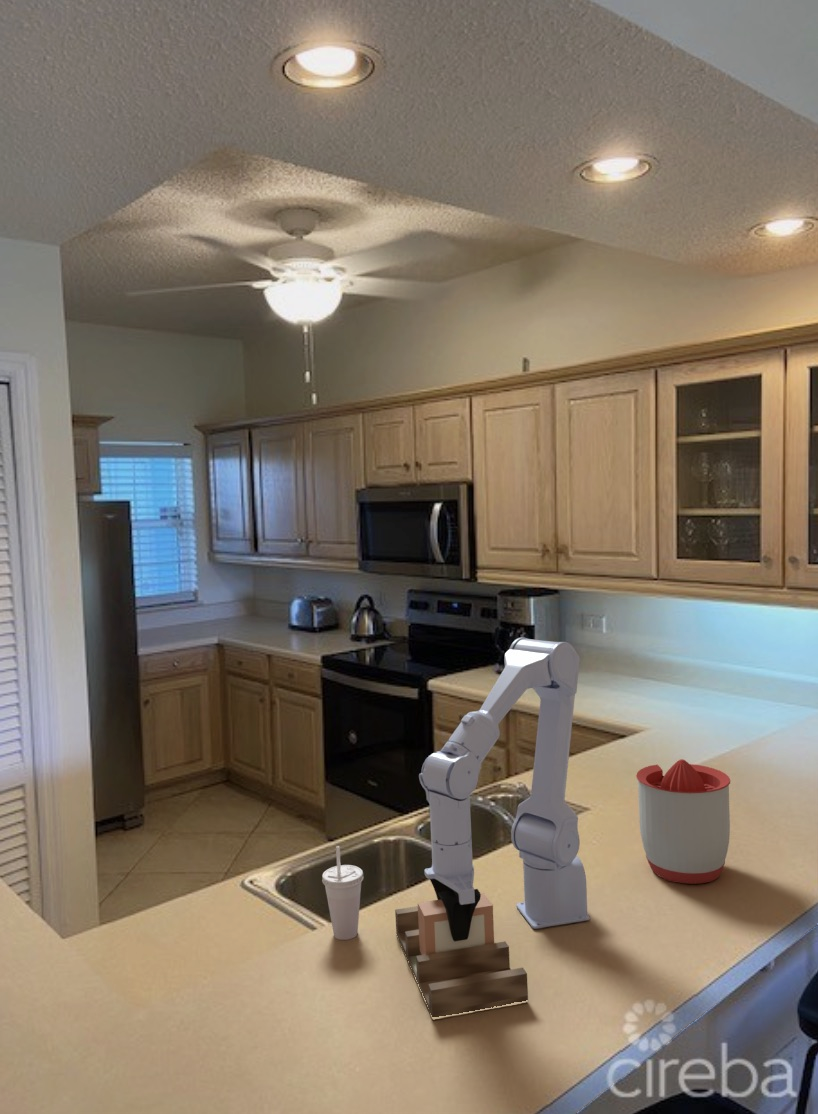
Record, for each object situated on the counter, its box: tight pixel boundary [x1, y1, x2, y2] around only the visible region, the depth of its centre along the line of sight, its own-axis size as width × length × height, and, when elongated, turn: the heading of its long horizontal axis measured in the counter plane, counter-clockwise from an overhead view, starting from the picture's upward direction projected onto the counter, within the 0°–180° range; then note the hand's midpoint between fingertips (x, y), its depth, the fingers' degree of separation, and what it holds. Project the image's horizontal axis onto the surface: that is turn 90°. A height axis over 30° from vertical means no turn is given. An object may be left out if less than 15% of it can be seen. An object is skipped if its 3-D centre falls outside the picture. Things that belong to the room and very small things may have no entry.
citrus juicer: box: [635, 758, 731, 885], centre depth 145 cm, size 16×17×20 cm
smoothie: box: [321, 845, 364, 941], centre depth 128 cm, size 6×6×14 cm
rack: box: [394, 905, 529, 1017], centre depth 118 cm, size 13×22×4 cm, turn 13°
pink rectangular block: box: [417, 892, 495, 955], centre depth 118 cm, size 4×10×7 cm, turn 103°
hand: (455, 930), depth 118 cm, fingers closed on pink rectangular block, 4 cm apart
